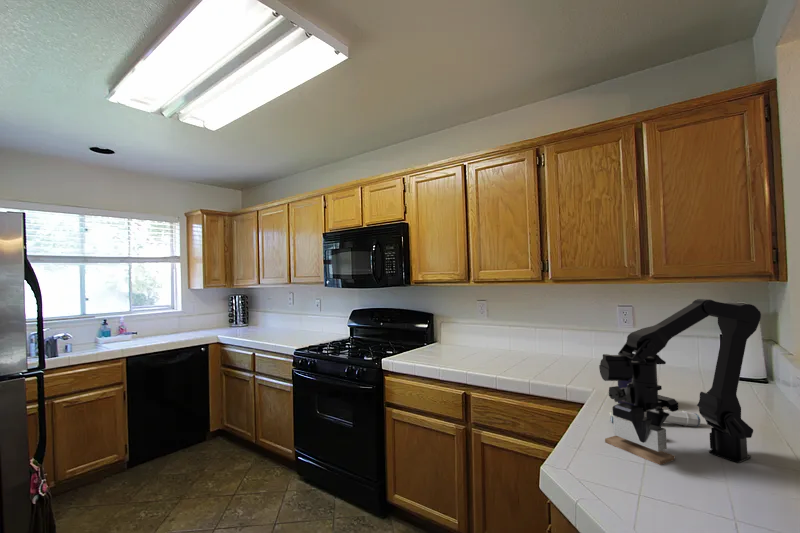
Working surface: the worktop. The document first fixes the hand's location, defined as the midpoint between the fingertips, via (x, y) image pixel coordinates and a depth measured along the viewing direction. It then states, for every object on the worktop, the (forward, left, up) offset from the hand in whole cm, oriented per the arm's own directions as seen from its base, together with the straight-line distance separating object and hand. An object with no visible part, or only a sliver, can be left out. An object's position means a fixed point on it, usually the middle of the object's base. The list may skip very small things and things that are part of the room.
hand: (647, 440), depth 100 cm
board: (+3, 0, -4) cm, 4 cm away
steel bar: (+2, 0, -1) cm, 2 cm away
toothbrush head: (+12, -22, -4) cm, 25 cm away
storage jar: (+27, -34, -4) cm, 44 cm away
